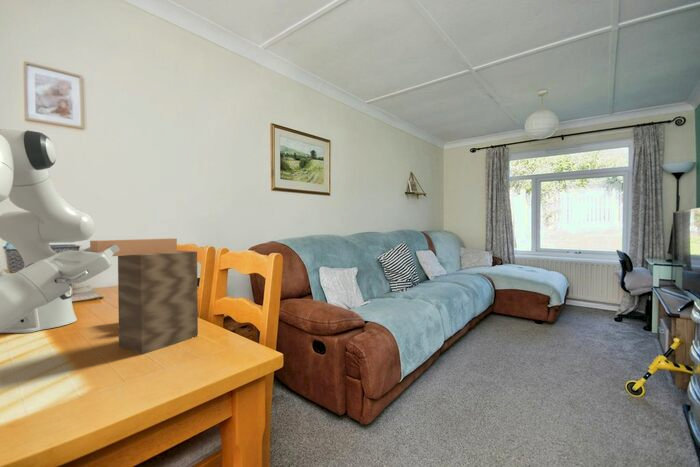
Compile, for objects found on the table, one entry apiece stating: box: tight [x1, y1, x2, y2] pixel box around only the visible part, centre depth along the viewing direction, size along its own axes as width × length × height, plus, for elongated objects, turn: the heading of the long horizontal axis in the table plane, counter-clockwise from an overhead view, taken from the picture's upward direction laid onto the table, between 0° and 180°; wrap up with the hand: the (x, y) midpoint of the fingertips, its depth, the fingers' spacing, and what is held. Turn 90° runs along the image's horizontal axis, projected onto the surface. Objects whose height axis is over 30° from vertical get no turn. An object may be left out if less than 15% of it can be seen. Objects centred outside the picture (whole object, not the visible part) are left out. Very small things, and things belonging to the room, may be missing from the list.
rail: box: [89, 237, 178, 257], centre depth 87 cm, size 20×4×4 cm, turn 150°
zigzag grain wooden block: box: [117, 249, 199, 355], centre depth 92 cm, size 16×12×26 cm
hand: (108, 246), depth 81 cm, fingers open, 7 cm apart
